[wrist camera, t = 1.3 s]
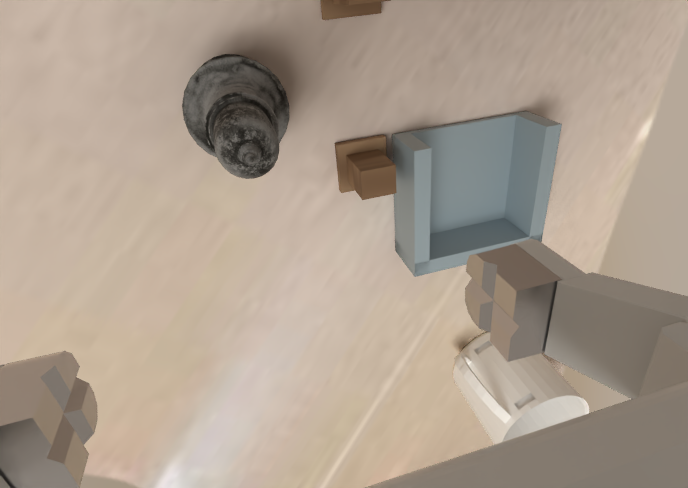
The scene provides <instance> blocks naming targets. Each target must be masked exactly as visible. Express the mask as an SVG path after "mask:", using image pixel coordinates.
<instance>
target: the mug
mask: <svg viewBox="0 0 688 488" xmlns="http://www.w3.org/2000/svg"><path fill="white" fill-rule="evenodd" d="M454 359H455V364H454V367H453V378H454V382H455V384H456V386H457V387H458V389H459V390H460V392H461V393H462V395H463V396H464V398H465V400H466V401H467V403H468V404H469V406H470V407H471V409H472V411H473V412H474V414H475V415H476V417H477V418H478V420H479V421H480V423H481V425H482V426H483V428H484V429H485V431H486V432H487V434H488V435H489V437H490V439H491V440H492V442H493V443H494V445H495V444H498V443H501V442H504V441H507V440H510V439H513V438H516V437H519V436H522V435H525V434H528V433H531V432H534V431H537V430H540V429H543V428H546V427H549V426H552V425H555V424H558V423H561V422H564V421H567V420H570V419H573V418H576V417H579V416H582V415H585V414H588V413H589V407H588V404H587V402H586V401H585V400H584V399H583V398H582V397H581V396H580V394H579V393H578V392H577V391H576V390H575V389H574V388H573V387H572V386H571V385H570V384H569V383H568V381H566V379H565V378H564V377H563V376H562V375H561V374H560V373H559V372H558V371H557V370H556V369H555V367H554V366H553V365H552V364H551V363H550V362H549V361H548V360H547V359H546V358H545V357H544V356H543V355H542V354H541V353H540V354H536V355H532V356H529V357H525V358H521V359H517V360H513V361H510V362H507V361H506V359H505V358H504V357H503V356H502V355H501V354H500V352H499V351H498V350H497V349H496V348H495V347H494V345H493V344H492V343H491V342H490V332H486V333H484V334H482V335H480V336H478V337H476V338H475V339H474V340H472V341H471V342H470V343H469V344H468V345H467V346H466V347H465V348H464V349H463V350H462V351H461V352H460V353H459V354H458V355H457V356H456V357H455V358H454Z"/></svg>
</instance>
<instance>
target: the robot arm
mask: <svg viewBox="0 0 688 488" xmlns="http://www.w3.org/2000/svg"><path fill="white" fill-rule="evenodd" d="M466 272H467V273H468V274H469V275H470V276H471V277H472V279H471V280H470V282H469V283H468V285H467V286H466V288H465V302H466V306H467V309H468V313H469V315H470V316H471V318H472V320H473V321H474V323H475V324H476V325H477V326H478V328H480V329H483V330H485V331H488V332H490V342H491V343H492V344H493V345H494V347H495V348H496V349H497V350H498V351H499V352H500V354H501V355H502V356H503V357H504V358H505V359H506V361H507V362H510V361H513V360H517V359H521V358H525V357H529V356H532V355H536V354H540V353H544V352H545V353H544V354H545V355H547V356H549V357H550V358H552V359H554V360H556V361H558V362H560V363H562V364H564V365H566V366H568V367H570V368H572V369H574V370H576V371H578V372H580V373H582V374H584V375H586V376H588V377H590V378H592V379H594V380H596V381H598V382H600V383H601V384H604V385H605V386H608V387H609V388H611V389H613V390H616V391H617V392H619V393H621V394H623V395H625V396H627V397H629V398H631V400H628V401H625V402H622V403H619V404H616V405H613V406H610V407H607V408H604V409H601V410H598V411H595V412H592V413H588V414H585V415H582V416H579V417H576V418H573V419H570V420H567V421H564V422H561V423H558V424H555V425H552V426H549V427H546V428H543V429H540V430H537V431H534V432H531V433H528V434H525V435H522V436H519V437H516V438H513V439H510V440H507V441H504V442H501V443H498V444H495V445H492V446H489V447H486V448H483V449H480V450H477V451H474V452H471V453H468V454H465V455H462V456H459V457H456V458H453V459H450V460H447V461H444V462H441V463H438V464H435V465H432V466H429V467H426V468H423V469H420V470H417V471H414V472H411V473H407V474H404V475H401V476H398V477H395V478H392V479H389V480H386V481H383V482H380V483H377V484H374V485H371V486H368V487H365V488H688V296H684V295H680V294H676V293H672V292H668V291H664V290H660V289H656V288H652V287H648V286H644V285H640V284H636V283H632V282H628V281H624V280H620V279H617V278H613V277H608V276H604V275H600V274H597V273H593V272H592V273H588V274H585V273H584V272H583V271H581V270H580V269H578V268H577V267H575V266H574V265H573V264H571V263H570V262H568V261H567V260H565V259H564V258H563V257H561V256H560V255H558V254H557V253H555V252H554V251H553V250H551V249H550V248H548V247H547V246H545V245H544V244H543V243H541V242H540V241H538V240H534V239H528V240H525V241H521V242H517V243H514V244H511V245H508V246H504V247H500V248H496V249H492V250H488V251H484V252H480V253H476V254H472V255H469V258H468V260H467V267H466ZM79 367H80V366H79V364H78V363H77V361H76V359H75V358H74V356H73V355H72V353H69V352H66V351H63V352H58V353H53V354H49V355H44V356H40V357H35V358H31V359H26V360H21V361H17V362H12V363H8V364H6V365H0V488H80V485H81V481H82V477H83V474H84V470H85V466H86V462H87V459H88V455H89V453H88V452H87V450H86V448H85V447H84V444H85V443H86V441H87V440H88V439H89V438H90V437H91V436H92V435H93V434H94V432H95V428H96V424H97V402H96V398H95V395H94V392H93V390H92V388H91V386H90V384H89V383H87V382H85V381H83V380H81V379H79V378H77V377H76V376H77V373H78V370H79Z"/></svg>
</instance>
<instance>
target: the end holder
mask: <svg viewBox="0 0 688 488" xmlns="http://www.w3.org/2000/svg"><path fill="white" fill-rule="evenodd" d="M561 126H562V124H560V123H557V122H554V121H552V120H549V119H546V118H544V117H541V116H538V115H536V114H533V113H530V112H528V111H524V112H518V113H512V114H507V115H501V116H495V117H489V118H484V119H478V120H472V121H466V122H461V123H455V124H449V125H443V126H438V127H432V128H426V129H421V130H415V131H409V132H403V133H398V134H392V146H393V163H394V164H395V165H396V192H397V193H395V194H394V214H395V248H396V252H397V253H398V255H399V256H400V258H401V259H402V260H403V262H404V263H405V264H406V266H407V267H408V268H409V270H410V271H411V272H412V274H413V275H414V276H415V277H416V276H420V275H424V274H428V273H432V272H436V271H441V270H445V269H449V268H453V267H457V266H461V265H465V264H467V260H468V258H469V255H472V254H476V253H480V252H484V251H488V250H492V249H496V248H500V247H504V246H508V245H511V244H514V243H517V242H521V241H525V240H528V239H534V240H538V241H540V242H541V241H542V235H543V229H544V224H545V218H546V212H547V206H548V201H549V195H550V189H551V183H552V178H553V172H554V166H555V160H556V154H557V149H558V143H559V137H560V131H561Z"/></svg>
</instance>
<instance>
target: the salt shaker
mask: <svg viewBox="0 0 688 488" xmlns="http://www.w3.org/2000/svg"><path fill="white" fill-rule="evenodd" d="M182 108H183V116H184V121H185V124H186V126H187V128H188V131H189V133H190V135H191V136H192V137H193V139H194V140H195V141H196V143H197V144H198V145H199V146H200V147H201V148H203V149H204V150H205V151H206V152H207V153H209V154H210V155H213V156H215V157H217V158H218V160H219V162H220V163H221V164H222V166H223V167H224V168H225V169H226V170H227V171H229V172H230V173H231V174H233V175H235V176H237V177H241V178H246V179H249V178H257V177H260V176H262V175H264V174H266V173H267V172H269V171H270V170H271V169H272V167H273V166H274V164H275V163H276V161H277V158H278V154H279V143H280V141H281V139H282V138H283V136H284V134H285V132H286V129H287V125H288V121H289V103H288V99H287V96H286V92H285V90H284V88H283V86H282V85H281V83H280V81H279V79H278V78H277V77H276V76H275V75H274V74H273V73H272V72H271V71H270V70H269V69H268V68H266V67H265V66H263V65H262V64H260V63H258V62H257V61H255V60H251V59H249V58H246V57H243V56H240V55H228V54H225V55H221V56H217V57H214V58H212V59H210V60H209V61H207V62H206V63H204V64H203V65H202V66H201V67H200V68H199V69H198V70H197V71H196V73H195V74H194V75H193V76H192V77H191V78H190V80H189V82H188V85H187V87H186V89H185V91H184V97H183V104H182Z"/></svg>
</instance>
